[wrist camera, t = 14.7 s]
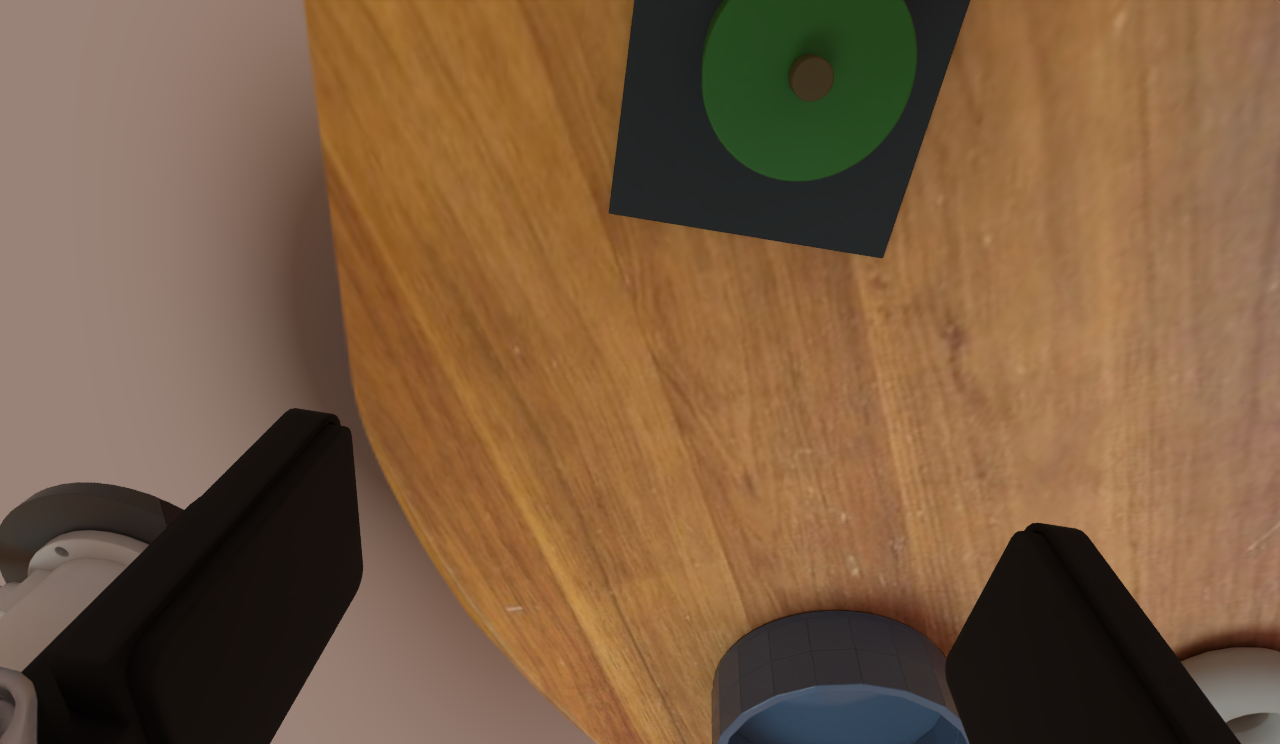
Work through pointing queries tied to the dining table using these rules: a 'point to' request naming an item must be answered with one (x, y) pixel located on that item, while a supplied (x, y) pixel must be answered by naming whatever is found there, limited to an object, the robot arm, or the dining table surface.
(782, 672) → the serving bowl
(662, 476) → the dining table surface
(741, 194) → the mat
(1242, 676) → the donut
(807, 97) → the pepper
